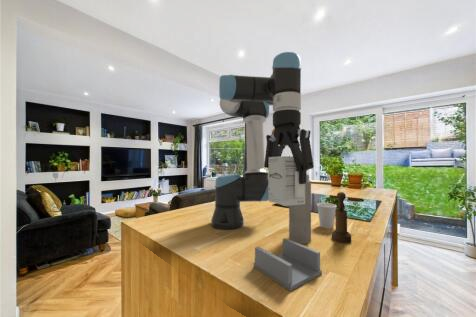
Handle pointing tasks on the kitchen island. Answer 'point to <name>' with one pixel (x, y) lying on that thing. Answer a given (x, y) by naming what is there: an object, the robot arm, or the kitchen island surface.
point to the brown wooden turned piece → (341, 222)
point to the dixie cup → (326, 214)
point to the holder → (289, 264)
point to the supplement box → (283, 181)
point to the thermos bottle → (301, 218)
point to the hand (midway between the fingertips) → (286, 194)
